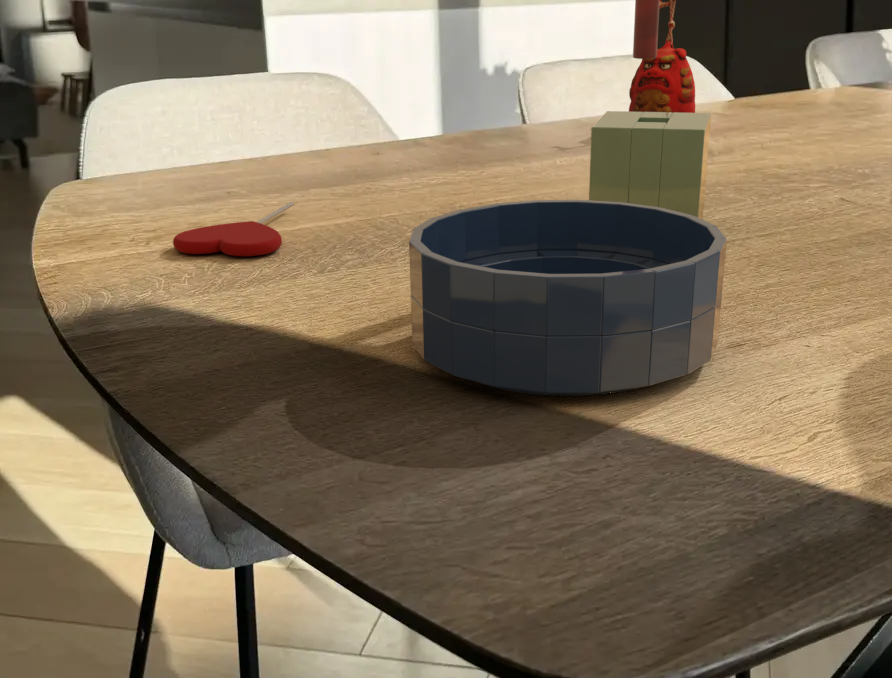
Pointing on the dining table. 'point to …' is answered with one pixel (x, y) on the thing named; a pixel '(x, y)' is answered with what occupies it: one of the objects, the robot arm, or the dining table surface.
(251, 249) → the lollipop
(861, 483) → the dining table surface
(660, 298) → the bowl
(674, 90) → the red clay folk toy
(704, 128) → the block
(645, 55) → the stirring stick
